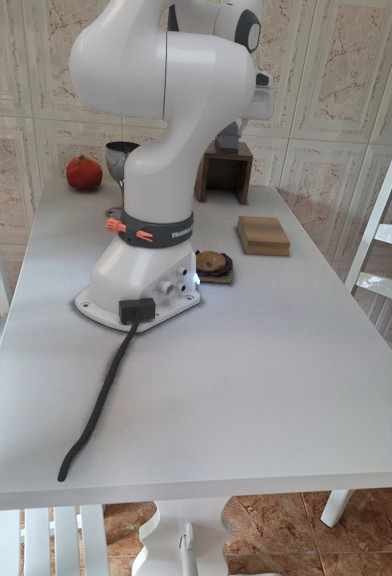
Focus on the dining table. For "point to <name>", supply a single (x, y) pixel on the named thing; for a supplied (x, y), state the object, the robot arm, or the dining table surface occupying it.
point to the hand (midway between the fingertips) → (226, 136)
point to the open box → (225, 171)
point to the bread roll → (213, 266)
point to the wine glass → (118, 166)
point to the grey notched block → (228, 140)
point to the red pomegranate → (84, 173)
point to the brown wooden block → (263, 236)
